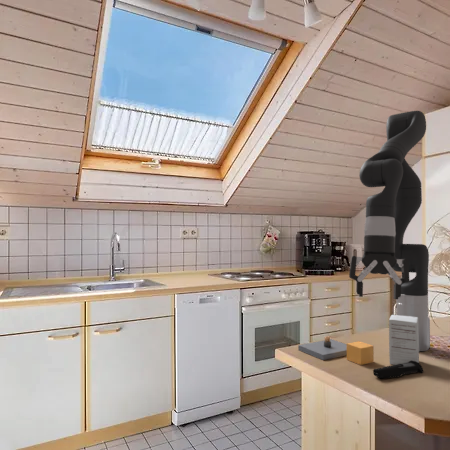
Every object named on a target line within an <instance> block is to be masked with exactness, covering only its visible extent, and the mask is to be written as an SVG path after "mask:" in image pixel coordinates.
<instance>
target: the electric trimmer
mask: <svg viewBox="0 0 450 450" xmlns="http://www.w3.org/2000/svg"><path fill="white" fill-rule="evenodd" d="M372 371H373V372H372V373H373V375H374V376H375V377H378V378H379V379H390V378H392V379H393V378H400V377H401V376H403V375H408V374H414V373H419V374H423V373H424V372H425V371H424V368H423V366H422V365H421V364H420V362H419V363H418V362H416V361H409V362H408V363H403V364H397V365H393V364H390V365H389V366H382V367H379V368H374V369H373V370H372Z"/></svg>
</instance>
